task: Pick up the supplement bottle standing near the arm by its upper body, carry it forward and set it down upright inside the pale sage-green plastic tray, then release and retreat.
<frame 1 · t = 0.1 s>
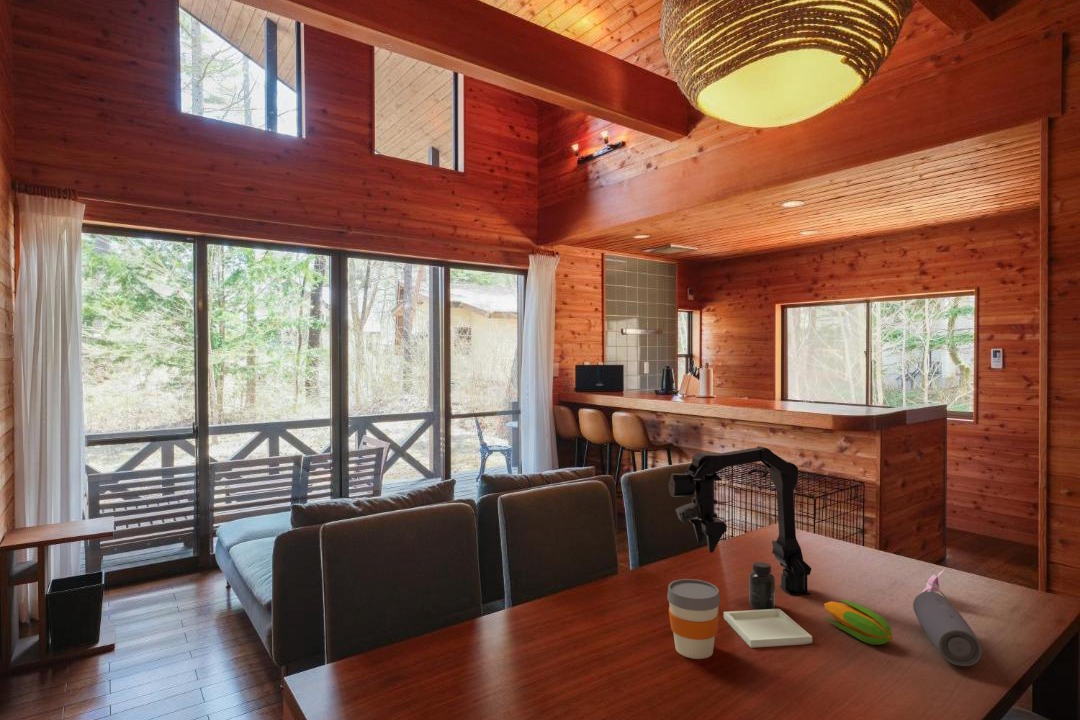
hand: (705, 547, 173), 15 cm above the table, fingers open, 9 cm apart
lily: (932, 601, 167), on the table
corn: (854, 634, 149), on the table
tray: (765, 630, 151), on the table
supplement bottle: (762, 606, 165), on the table
bluetooth speaker: (945, 648, 140), on the table
reusable coffee cup: (694, 650, 141), on the table
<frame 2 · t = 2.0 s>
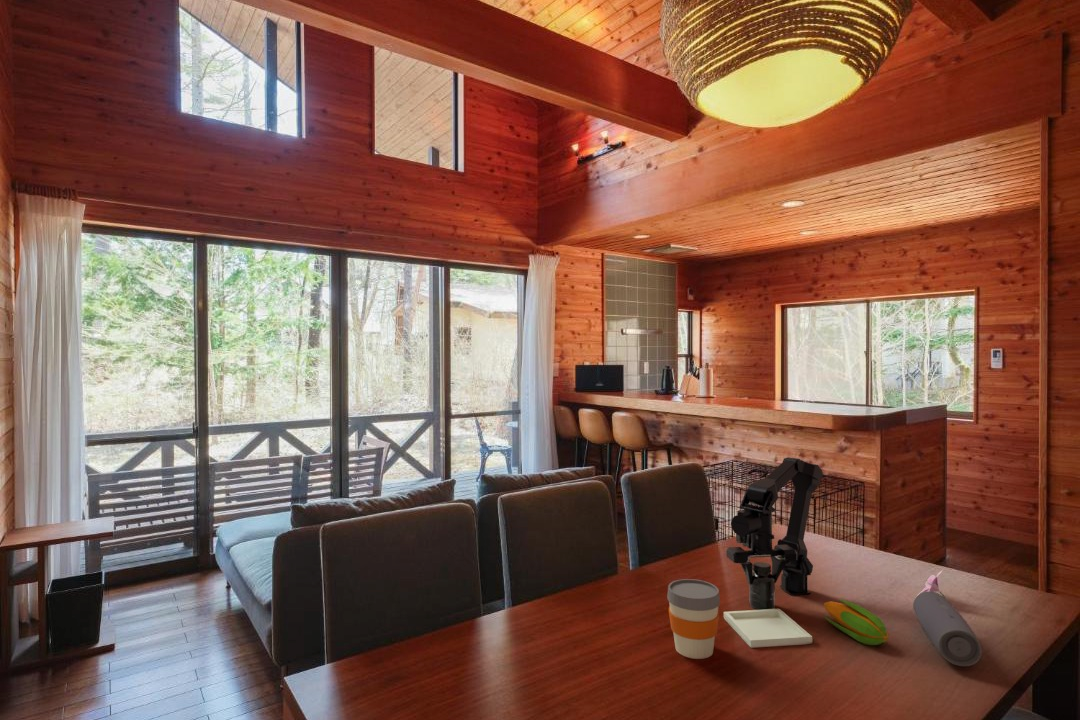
hand: (761, 583, 165), 7 cm above the table, fingers closed on supplement bottle, 7 cm apart
supplement bottle: (762, 606, 165), on the table, touching gripper
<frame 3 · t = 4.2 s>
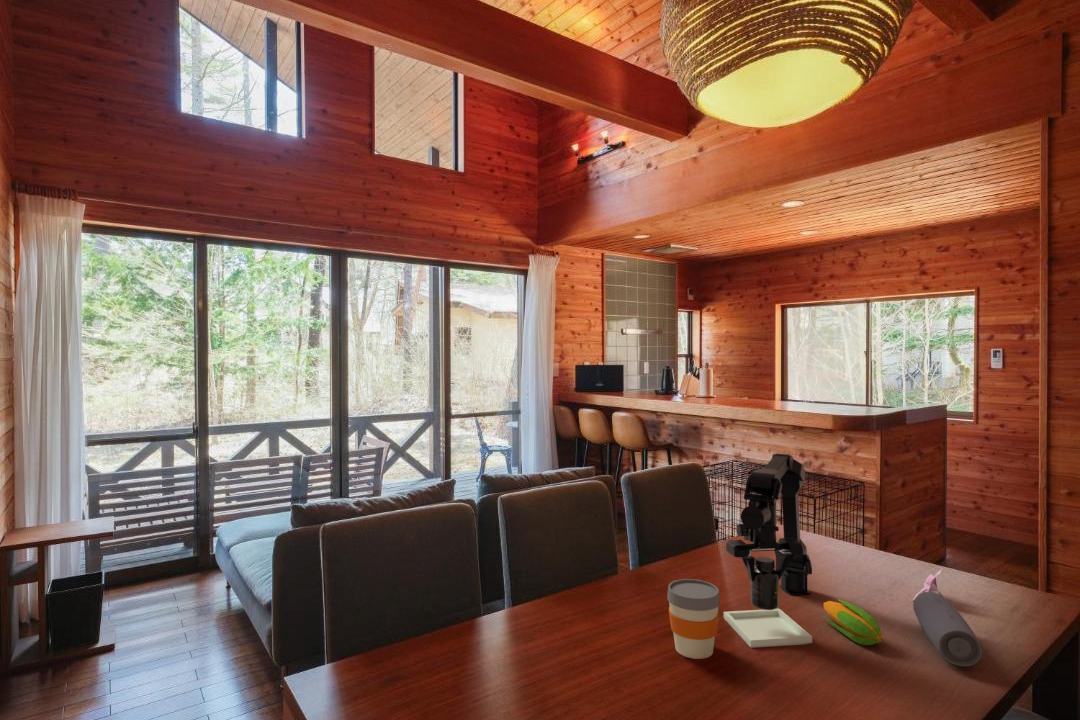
hand: (764, 580, 151), 13 cm above the table, fingers closed on supplement bottle, 7 cm apart
supplement bottle: (764, 606, 151), point 6 cm above the table, touching gripper
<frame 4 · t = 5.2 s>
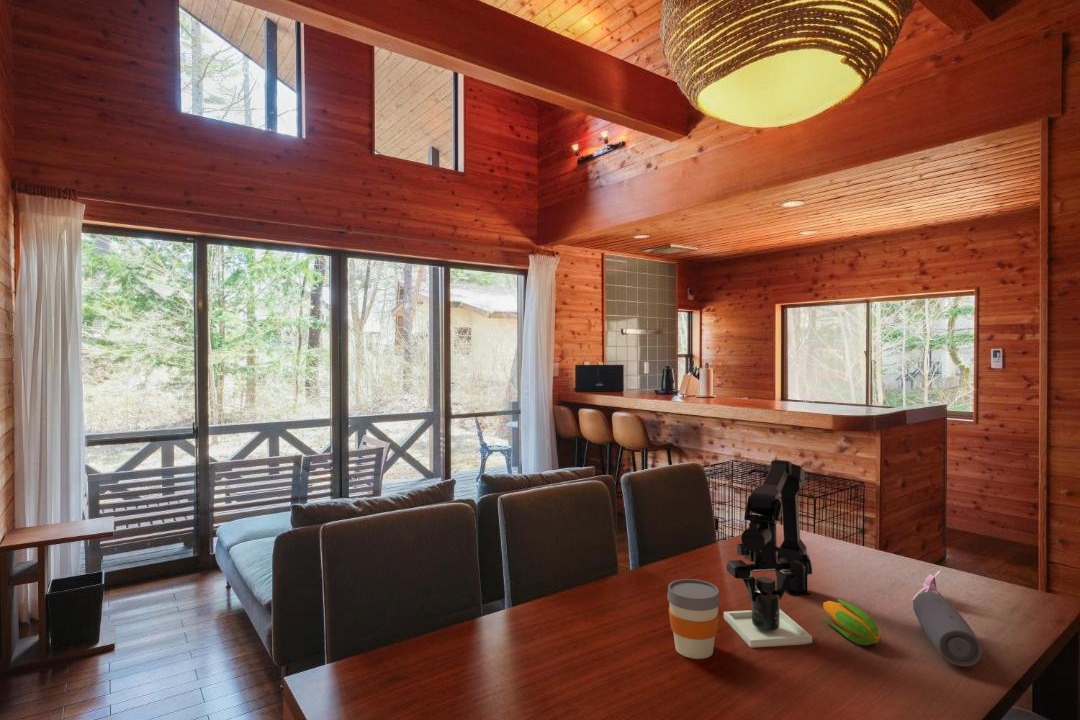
hand: (765, 600, 151), 8 cm above the table, fingers closed on supplement bottle, 7 cm apart
supplement bottle: (765, 626, 151), point 1 cm above the table, touching gripper
when the fingers open (8 cm above the table, at t = 6.0 s): supplement bottle stays where it is, resting on tray.
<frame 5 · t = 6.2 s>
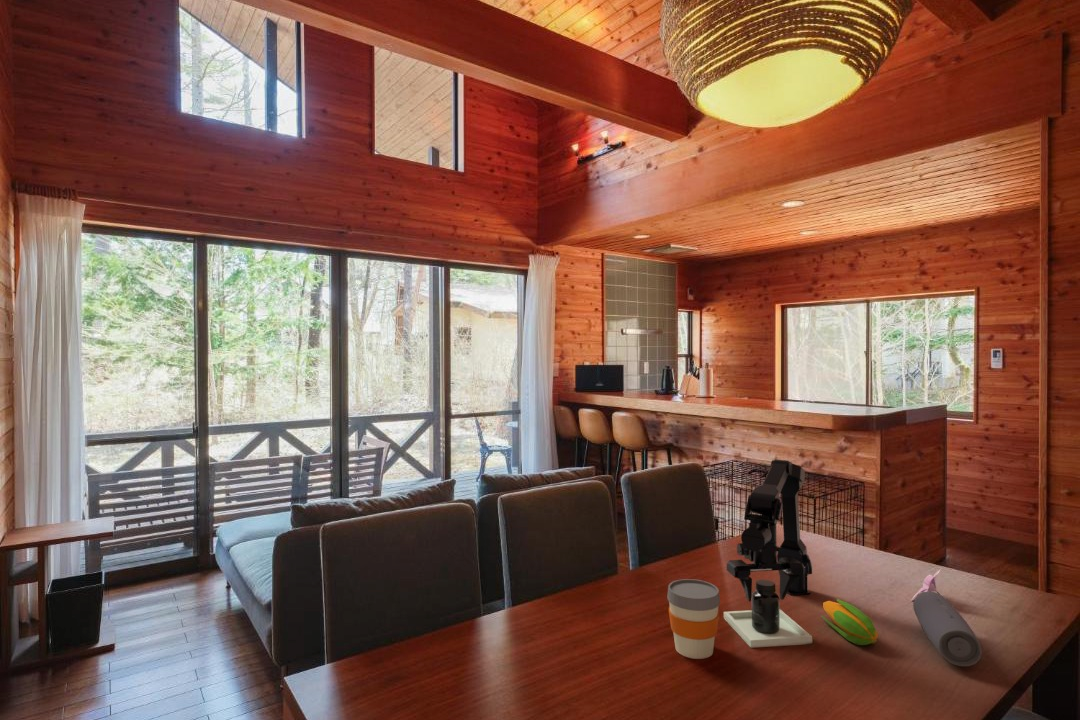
hand: (765, 599, 150), 8 cm above the table, fingers open, 9 cm apart
supplement bottle: (765, 629, 151), resting on tray
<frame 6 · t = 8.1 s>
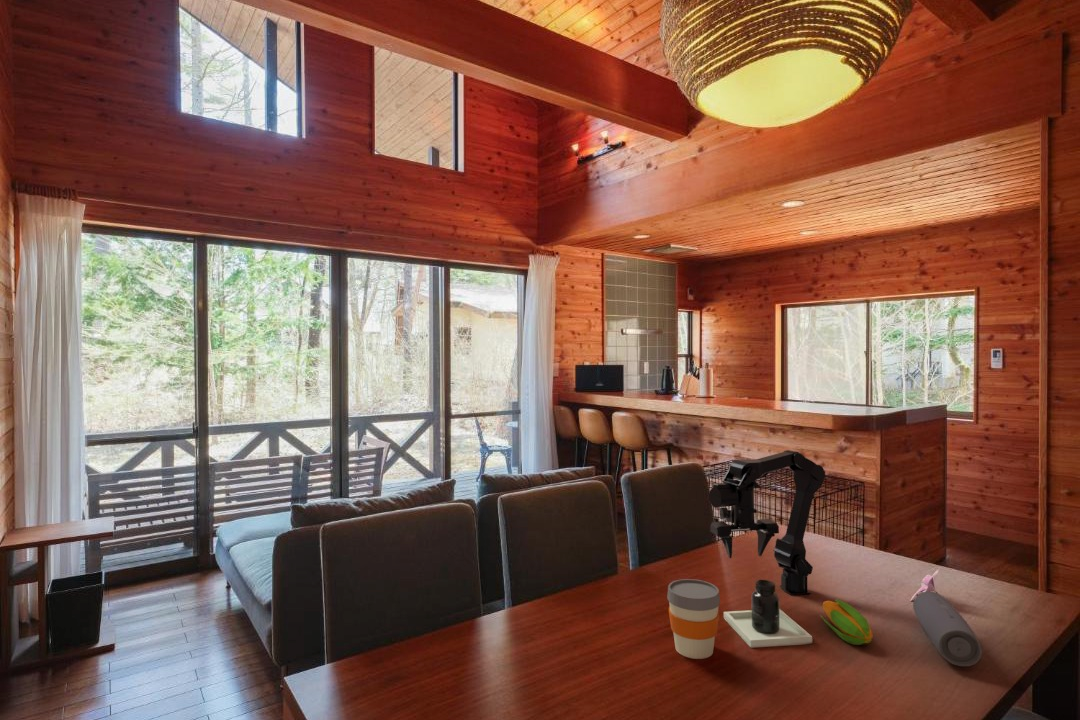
hand: (744, 556, 169), 13 cm above the table, fingers open, 9 cm apart
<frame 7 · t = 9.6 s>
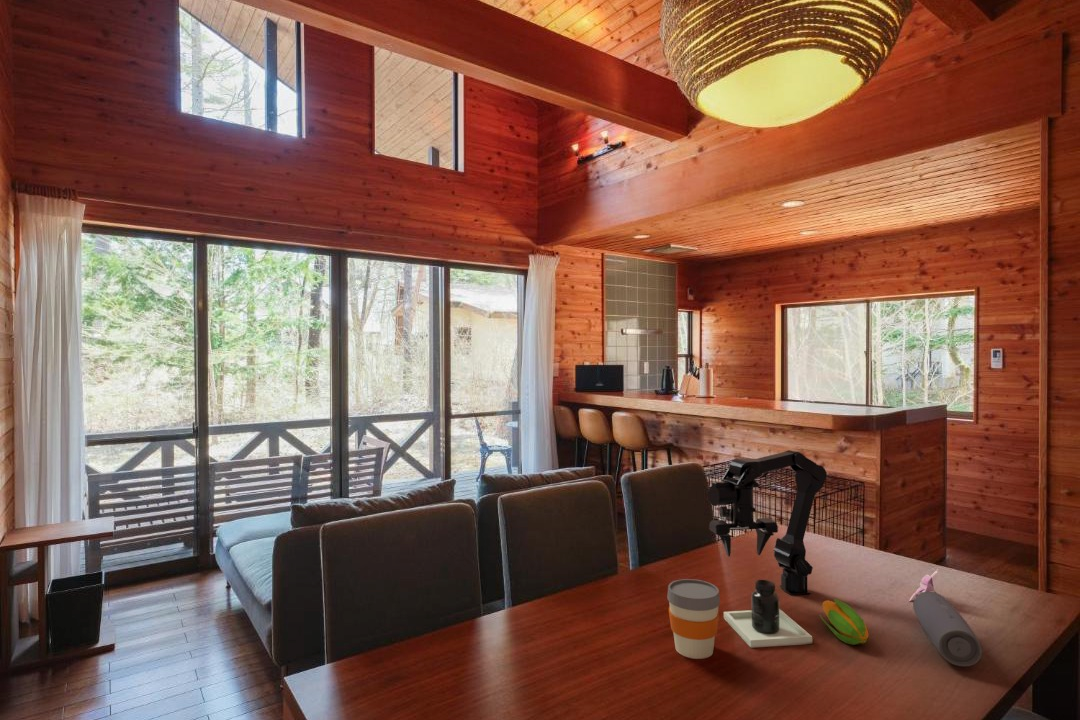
hand: (743, 555, 170), 13 cm above the table, fingers open, 9 cm apart
at the end: supplement bottle inside the target area on the tray (0.2 cm from its centre), point 0.2 cm above the tray's base; supplement bottle tilted 0°; the gripper is holding nothing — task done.
